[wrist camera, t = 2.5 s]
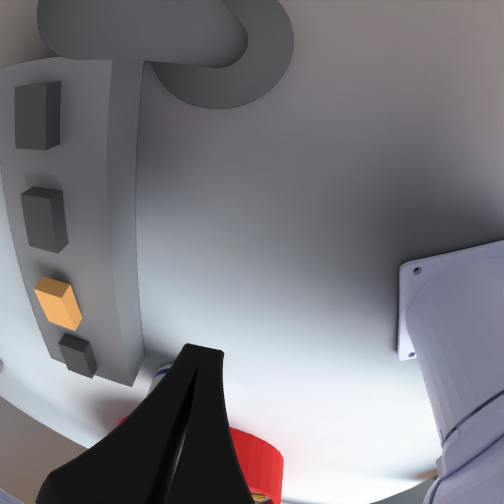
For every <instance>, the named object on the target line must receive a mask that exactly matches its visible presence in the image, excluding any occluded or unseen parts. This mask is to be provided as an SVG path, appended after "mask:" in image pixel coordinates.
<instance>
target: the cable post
mask: <svg viewBox="0 0 504 504" xmlns="http://www.w3.org/2000/svg"><path fill="white" fill-rule="evenodd" d="M37 23H38V28H39V32H40V35H41V37H42V39H43V41H44V43H45V44H46V45H47V47H48V48H49V49H50V50H51V51H53V52H54V53H55V54H57V55H59V56H61V57H63V58H67V59H70V60H135V61H152V64H153V67H154V69H155V72H156V74H157V76H158V78H159V79H160V81H161V82H162V83H163V85H164V86H165V87H166V88H167V89H168V90H169V91H170V92H171V93H172V94H174V95H175V96H176V97H178V98H179V99H181V100H183V101H185V102H187V103H189V104H192V105H194V106H198V107H202V108H209V109H226V108H233V107H238V106H241V105H244V104H247V103H249V102H251V101H253V100H256V99H257V98H259V97H261V96H262V95H264V94H265V93H267V92H268V91H269V90H270V89H271V88H273V87H274V86H275V84H276V83H277V82H278V81H279V80H280V79H281V77H282V76H283V74H284V73H285V71H286V69H287V67H288V65H289V62H290V59H291V55H292V50H293V31H292V26H291V22H290V20H289V18H288V15H287V13H286V12H285V10H284V8H283V7H282V6H281V4H280V3H279V2H278V1H277V0H39V1H38V8H37Z"/></svg>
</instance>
